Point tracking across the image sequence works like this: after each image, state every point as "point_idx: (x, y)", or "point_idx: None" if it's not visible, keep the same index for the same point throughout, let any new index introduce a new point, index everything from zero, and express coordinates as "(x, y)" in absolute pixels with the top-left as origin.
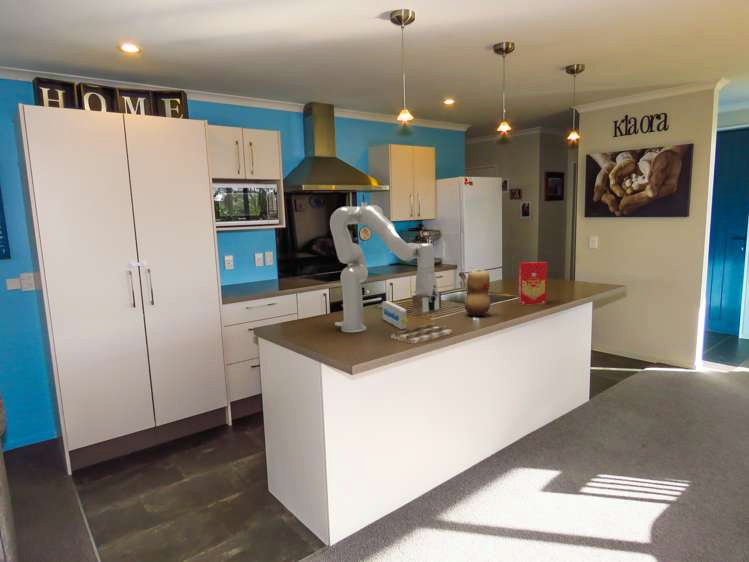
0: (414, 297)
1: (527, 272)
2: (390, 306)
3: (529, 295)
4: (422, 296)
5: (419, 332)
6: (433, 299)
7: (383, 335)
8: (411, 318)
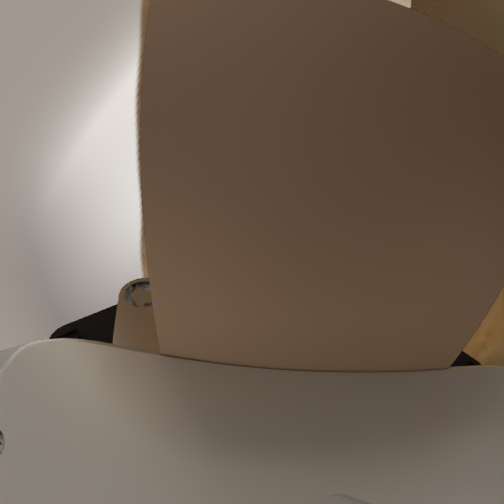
0: (462, 55)
1: None
2: None
3: None
4: (147, 185)
5: None
6: (84, 320)
7: (468, 20)
8: (473, 342)
